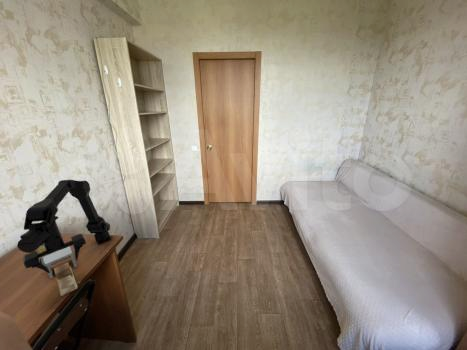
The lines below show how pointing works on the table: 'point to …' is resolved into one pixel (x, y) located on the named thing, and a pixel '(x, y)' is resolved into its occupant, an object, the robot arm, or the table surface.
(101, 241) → the robot arm
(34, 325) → the table surface
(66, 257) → the pit pad
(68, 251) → the tunnel
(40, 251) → the supplement bottle
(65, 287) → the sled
